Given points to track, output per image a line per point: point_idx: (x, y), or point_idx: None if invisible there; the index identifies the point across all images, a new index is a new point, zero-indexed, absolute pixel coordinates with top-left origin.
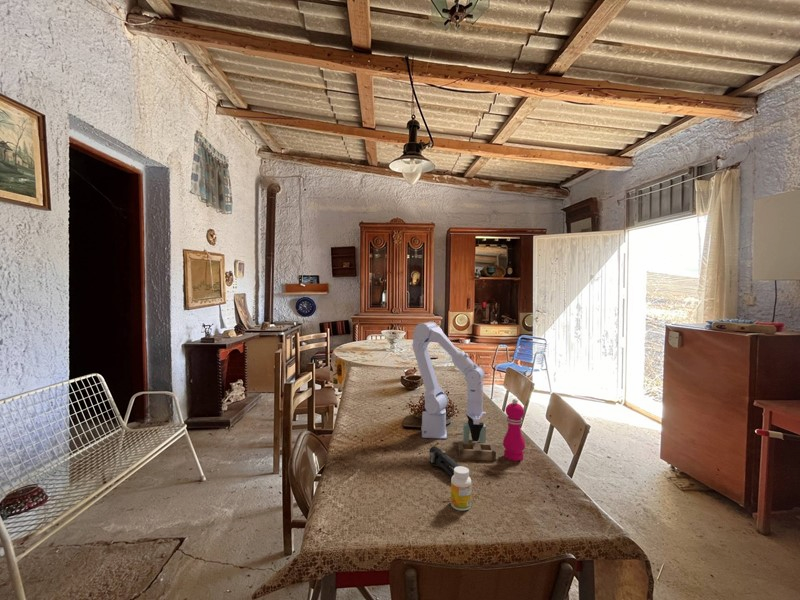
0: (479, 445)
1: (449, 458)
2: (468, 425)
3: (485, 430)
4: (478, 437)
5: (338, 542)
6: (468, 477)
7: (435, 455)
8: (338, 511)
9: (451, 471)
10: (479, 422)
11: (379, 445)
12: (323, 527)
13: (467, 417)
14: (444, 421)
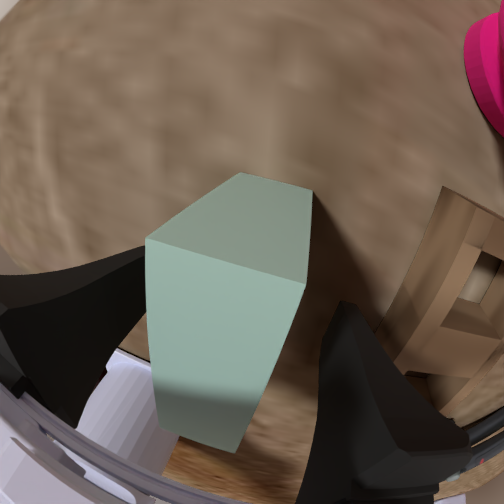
0: (452, 334)
1: (488, 459)
2: (233, 434)
3: (308, 253)
4: (368, 330)
5: (488, 479)
6: None
7: None
8: (446, 493)
9: (500, 428)
10: (376, 485)
11: (249, 485)
12: (460, 492)
13: (85, 404)
14: (134, 440)
